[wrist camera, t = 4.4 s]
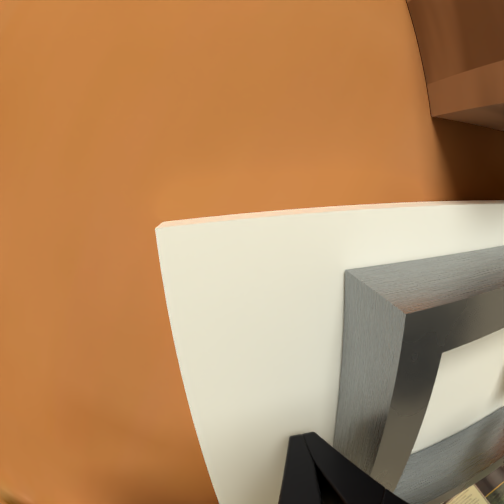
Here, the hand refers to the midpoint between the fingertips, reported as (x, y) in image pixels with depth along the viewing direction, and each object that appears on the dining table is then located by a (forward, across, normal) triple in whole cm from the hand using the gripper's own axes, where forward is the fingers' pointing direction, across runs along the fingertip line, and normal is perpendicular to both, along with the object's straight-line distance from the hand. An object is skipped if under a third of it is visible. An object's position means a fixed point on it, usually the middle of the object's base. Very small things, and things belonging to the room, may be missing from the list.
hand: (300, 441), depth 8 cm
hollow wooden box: (+2, -9, -13) cm, 16 cm away
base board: (+2, -6, +1) cm, 6 cm away
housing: (+1, -7, 0) cm, 7 cm away
